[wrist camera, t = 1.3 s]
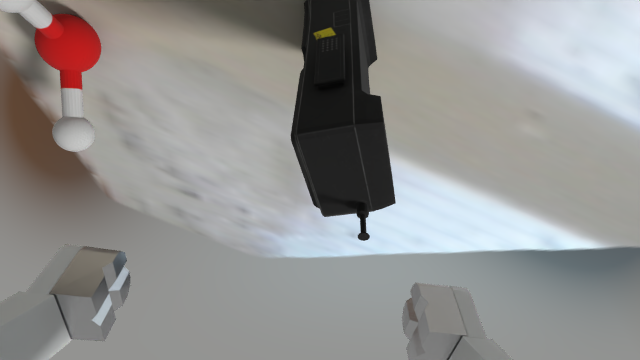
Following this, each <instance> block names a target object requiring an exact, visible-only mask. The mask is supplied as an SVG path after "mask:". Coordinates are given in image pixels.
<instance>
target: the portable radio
mask: <svg viewBox="0 0 640 360" xmlns="http://www.w3.org/2000/svg"><path fill="white" fill-rule="evenodd" d="M304 9H305V16H304V30H303V39H302V52H303V56H304V68H303V70H302V71H301V73H300V78H299V85H298V92H297V98H296V105H295V111H294V118H293V125H292V131H291V141H292V144H293V147H294V150H295V153H296V156H297V158H298V161H299V164H300V167H301V170H302V173H303V176H304V178H305V181H306V184H307V187H308V190H309V193H310V196H311V198H312V201H313V204H314V205H315V206H316V207H318V208H320V210H321V213H322V215H323V216H324V217H329V216H337V215H346V214H355V213H357V216H358V217H359V218H360V225H361V233H360V234H359V235H358V239H359V240H363V241H365V240H368V239H369V237H370V236H369V234H368V233H366V218H367V217H368V215H369V212H372V211H375V210H379V209H382V208H385V207H387V206H390V205H392V204H395V195H394V187H393V179H392V172H391V165H390V158H389V152H388V145H387V138H386V131H385V124H384V117H383V111H382V104H381V97H380V96H376V95H370V88H369V75H368V67H369V66H370V65H371V64H372V63H373V62H374V61H376V60H377V54H376V46H375V39H374V32H373V25H372V18H371V11H370V4H369V0H306V1H305V3H304Z"/></svg>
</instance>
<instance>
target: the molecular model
mask: <svg viewBox="0 0 640 360" xmlns="http://www.w3.org/2000/svg"><path fill="white" fill-rule="evenodd" d="M0 10H1V11H4V12H10V13H17V12H18V13H19V14H20V15H21V16H22V17H24V18H25V19H26V20H27V21H28V22H29V23H31V24H32V25H33V26H34V27H35V28H36V32H35V45H36V48H37V51H38V53H39V54H40V56H41V57H42V58H43V60H44V61H45V62H46V63H48V64H49V65H50V66H52V67H53V68H55V69H57V70H60V83H61V99H62V115H63V117H62V118H61V119H59V120H58V121H57V122H56V123H55V125H54V127H53V137H54V140H55V141H56V143H57V144H58V145H59V146H60V147H62V148H63V149H66V150H68V151H74V152H75V151H82V150H85V149H87V148H88V147H89V146H90V145H91V144H92V143H93V141H94V139H95V130H94V128H93V126H92V124H91V123H90V122H89V121H88V120H86V119H85V118H84V110H83V93H82V75H81V72H84V71H87V70H89V69H90V68H92V67H93V66H94V65H95V64H96V63H97V61H98V59H99V57H100V54H101V43H100V39H99V37H98V35H97V33H96V32H95V30H94V29H93V28H92V27H91V26H90V25H89V24H88V23H87V22H86V21H84V20H82V19H81V18H79V17H76V16H73V15H69V14H55V15H52V14H51V13H50V12H49V11H48V10H47V9H46V8H45V7H44V6H42V5H41V4H40V3H39V2H38V1H37V0H0Z"/></svg>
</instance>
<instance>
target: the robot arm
mask: <svg viewBox="0 0 640 360" xmlns="http://www.w3.org/2000/svg"><path fill="white" fill-rule="evenodd" d="M126 261H127V258H126V255H125V252H123V251H117V250H108V249H101V248H94V247H87V246H77V245H69V244H65V245H64V246H62V247H61V248H59V250H58V251H57V252H56V254H55V255H54V256H53V257H52V259H51V260H50V261H49V262H48V264H47V265H46V266H45V268H44V269H43V270H42V272H41V273H40V274H39V276H38V277H37V278H36V279H35V281H34V282H33V283H32V284H31V286H30V287H29V288H28V290H27V291H26V292H18V293H16V294H14V295H12V296H11V297H9V298H7V299H5V300H3V301H1V302H0V360H48V359H50V358H51V357H52V356H53V355H54V354H56V353H57V352H58V351H59V350H61V349H62V348H63V347H64V346H66V345H67V344H68V343H69V342H71V339H80V340H95V341H105V339H106V337H107V336H108V333H109V331H110V330H111V328H112V326H113V324H114V322H115V320H116V318H115V314H114V311H115V310H117V309H118V308H120V307H121V306H122V305H123V304H124V302H125V300H126V298H127V296H128V292H129V288H130V273H129V271H128V270H127V269H126V268H125V267H124V265H125V263H126ZM411 296H412V298H410V299H409V300H407V301H406V303H405V306H404V308H403V316H402V321H403V330H404V334H405V335H406V336H407V337H408V339H409V340H410V341H409V343H408V345H407V354H408V358H409V360H513V359H512V358H511V357H510V356H509V355H508V354H507V353H506V352H505V351H504V350H503V349H502V348H501V347H500V346H499V345H498V344H497V343H496V342H494V340H492V339H487V337H486V334H485V331H484V328H483V326H482V323H481V321H480V318H479V315H478V312H477V309H476V307H475V304H474V301H473V299H472V296H471V293H470V291H469V290H468V289H467V288H462V287H452V286H445V285H435V284H424V283H415V284H414V285H413V286H412V289H411Z"/></svg>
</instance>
